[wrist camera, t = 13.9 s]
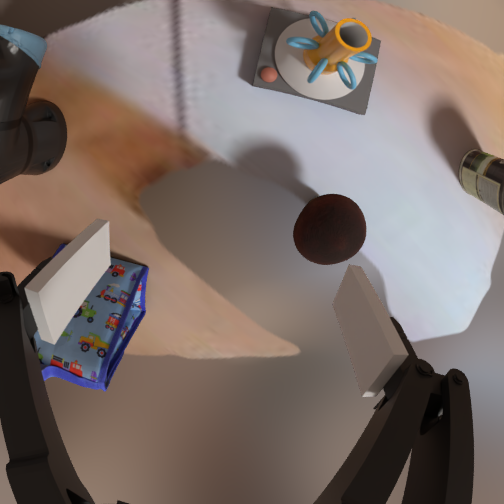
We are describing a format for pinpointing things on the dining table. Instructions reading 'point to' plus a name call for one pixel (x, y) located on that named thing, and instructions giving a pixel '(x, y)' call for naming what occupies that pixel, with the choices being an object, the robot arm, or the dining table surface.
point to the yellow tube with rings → (335, 48)
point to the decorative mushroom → (330, 229)
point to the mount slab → (296, 71)
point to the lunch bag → (98, 328)
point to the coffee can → (483, 178)
